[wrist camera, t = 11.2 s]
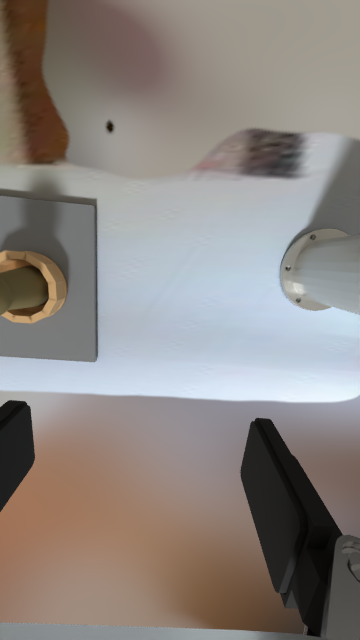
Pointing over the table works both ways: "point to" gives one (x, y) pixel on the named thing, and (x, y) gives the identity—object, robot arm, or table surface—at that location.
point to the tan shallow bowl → (52, 276)
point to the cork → (22, 288)
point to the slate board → (77, 266)
